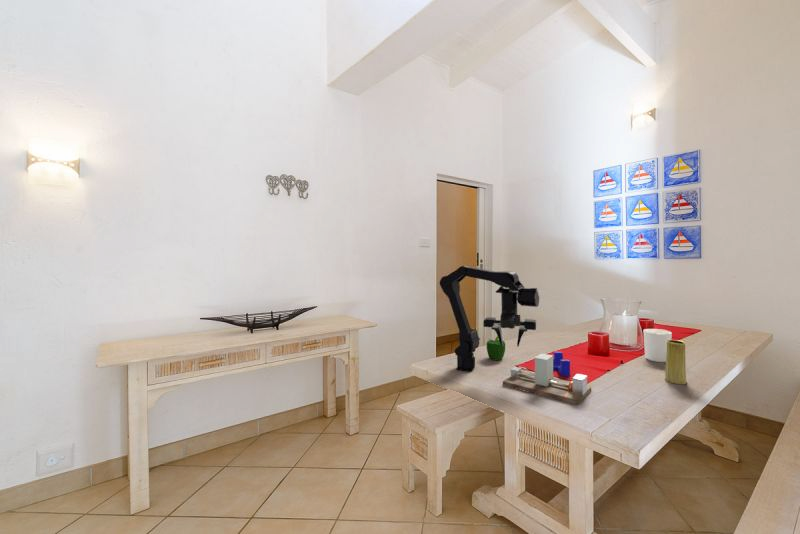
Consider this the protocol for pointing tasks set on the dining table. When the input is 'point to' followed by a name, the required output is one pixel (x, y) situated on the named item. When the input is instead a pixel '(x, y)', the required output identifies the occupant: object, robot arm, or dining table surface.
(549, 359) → the notched sage block
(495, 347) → the bell pepper
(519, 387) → the cord board
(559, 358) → the blue stepped block
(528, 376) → the rod with end blocks
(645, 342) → the white cylinder
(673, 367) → the vase
